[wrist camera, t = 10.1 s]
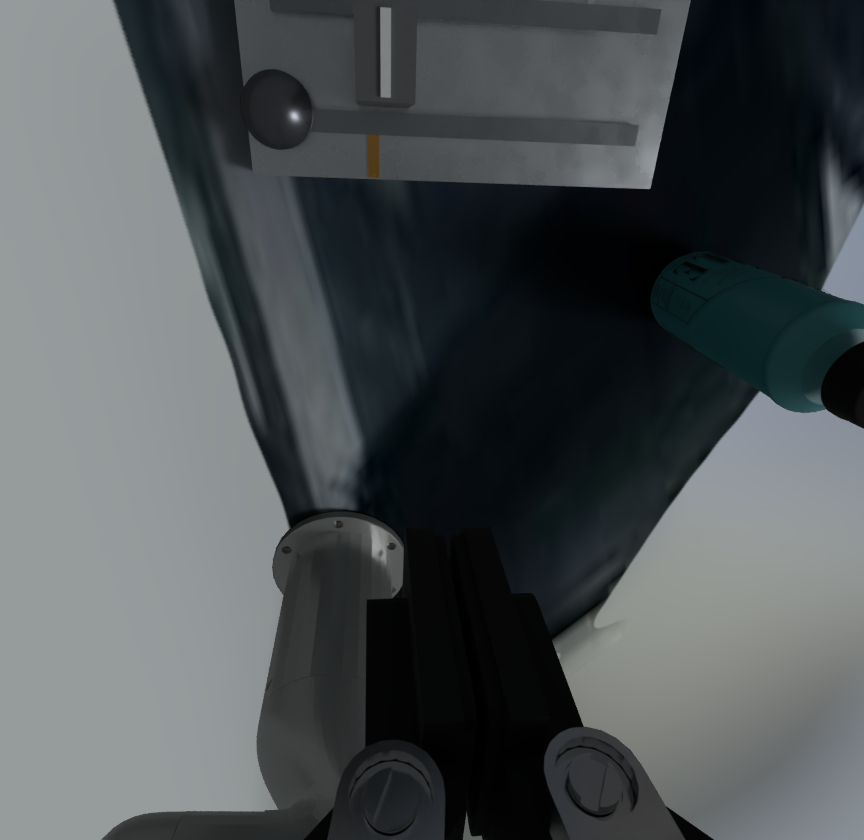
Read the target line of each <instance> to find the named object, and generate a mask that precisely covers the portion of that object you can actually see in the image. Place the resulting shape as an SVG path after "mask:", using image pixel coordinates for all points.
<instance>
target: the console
mask: <svg viewBox="0 0 864 840" xmlns="http://www.w3.org/2000/svg"><path fill="white" fill-rule="evenodd" d="M353 1H364V2H378V3H392V4H407V5H417V51H416V98H415V104H414V105H413V106H411V107H410V108H395V107H375V106H359V105H358V104H357V102H356V95H355V53H354V11H353ZM690 1H691V0H234V3H235V12H236V21H237V30H238V40H239V49H240V58H241V68H242V77H243V86H244V88H243V91H242V94H241V100H240V109H241V115H242V118H243V121H244V123H245V125H246V127H247V129H248V133H249V142H250V151H251V160H252V170H253V175H275V176H303V177H331V178H359V179H386V180H414V181H442V182H469V183H497V184H525V185H552V186H580V187H608V188H636V189H650V187H651V183H652V178H653V173H654V169H655V164H656V159H657V155H658V150H659V145H660V141H661V136H662V131H663V127H664V122H665V117H666V113H667V108H668V103H669V99H670V94H671V89H672V85H673V80H674V75H675V71H676V66H677V61H678V57H679V52H680V47H681V43H682V38H683V33H684V29H685V24H686V19H687V15H688V10H689V5H690Z"/></svg>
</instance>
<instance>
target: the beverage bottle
mask: <svg viewBox="0 0 864 840" xmlns="http://www.w3.org/2000/svg"><path fill="white" fill-rule="evenodd" d="M700 251H702V250H700ZM711 252H713V251H711ZM716 254H719V253H715V254H713V253H710V250H709V251H708V252H707V251H705V252H696V251H695V252H694V253H692V252H691V253H689V254H686V255H683V256H681V257H679V258H677V259H675V260H674V261H672V262H671V263H670V264H669V265H667V266H666V267H665V268H664V269H663V271H662V272H661V273H660V275H659V276H658V278H657V280H656V281H655V284H654V286H653V289H652V293H651V308H652V312H653V315H654V317H655V319H656V320H657V322H658V323H659V324H660V325H661V326H662V327H663V328H664V329H666V330H667V331H669V333H672V335H675V336H674V338H675V337H678V339H681V341H684V343H687V345H690V347H693V349H696V350H697V351H699V352H700V353H702V354H703V355H706V356H707V357H708V358H710V359H711V360H713V361H714V362H717V364H718V363H719V364H721V365H722V366H724V367H725V368H727V369H728V370H730V371H731V372H733V373H734V374H735V375H737V376H738V377H740V378H741V379H743V380H744V381H746V382H747V383H749V384H750V385H752V386H753V387H755V388H756V389H758V390H759V391H761V392H762V393H764V394H766V395H767V396H768V397H770V398H771V399H772V400H773V401H774V402H775V403H776V404H778V405H780V406H781V407H783V408H785V409H787V410H790V411H794V412H802V413H809V412H816V411H821V410H825V409H827V410H828V411H829V412H831V413H832V414H834V415H836V416H838V417H839V418H841V419H844V420H847V421H850V422H851V423H853V424H855V425H857V426H859V427H862V428H864V305H863V304H861V303H858V302H854V301H849V300H844V299H841V298H838V297H836V296H833V295H831V294H827V293H825V292H823V291H821V290H819V291H818V289H817V290H816V288H815V289H813V288H812V287H809V286H810V285H809V284H808V285H809V286H808V285H805V284H804V285H803V283H801V284H800V283H797V282H794V281H791V280H789V279H787V278H785V277H780V276H777V275H774V274H771V273H768V272H765V271H763V270H760V269H759V268H758V267H755V268H754V267H751V266H748V265H746V264H744V263H742V262H740V261H742V260H740V261H737V260H739V259H737V260H735V259H736V258H733V257H730V256H726V255H723V256H726V257H730V259H728V258H725V257H722V256H719V255H722V254H719V255H716ZM731 258H732V259H733V260H732V259H731ZM734 260H735V261H734ZM744 262H745V261H744ZM750 264H751V263H750ZM793 280H795V279H794V278H793ZM795 281H796V280H795ZM798 281H799V280H798ZM658 326H659V325H658ZM665 332H666V331H665ZM672 337H673V336H672ZM675 339H676V338H675ZM678 341H679V340H678ZM687 347H688V346H687ZM690 347H689V348H690ZM693 349H692V350H693ZM704 358H705V357H704ZM721 365H720V366H721ZM718 366H719V365H718ZM724 367H723V368H724Z"/></svg>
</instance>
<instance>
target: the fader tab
mask: <svg viewBox="0 0 864 840" xmlns="http://www.w3.org/2000/svg"><path fill="white" fill-rule="evenodd" d="M353 11H354V53H355V95H356V102H357V104H358V105H359V106H375V107H395V108H410V107H411V106H413V105H414V104H415V98H416V51H417V5H407V4H392V3H378V2H364V1H353Z"/></svg>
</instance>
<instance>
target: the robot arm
mask: <svg viewBox="0 0 864 840" xmlns="http://www.w3.org/2000/svg"><path fill="white" fill-rule="evenodd" d="M272 568H273V576H274V579H275V582H276V584H277V587H278V588H279V589H280V591H281V592H282V594H283V595H284V597H283V601H282V607H281V612H280V617H279V622H278V628H277V632H276V638H275V642H274V648H273V653H272V658H271V663H270V668H269V673H268V678H267V684H266V689H265V694H264V699H263V704H262V710H261V715H260V720H259V725H258V732H257V755H258V761H259V767H260V770H261V773H262V776H263V779H264V781H265V784H266V786H267V788H268V790H269V792H270V794H271V796H272V798H273V800H274V802H275V804H276V806H277V808H278V809H279V810H265V812H230V811H228V812H226V811H219V812H217V811H215V812H213V811H207V812H206V811H204V812H203V811H186V812H158V813H148V814H143V815H139V816H135V817H132V818H130V819H128V820H126V821H123V822H122V823H120V824H119V825H117V826H116V827H114V828H113V829H112V830H111V831H110V832H109V833H108V834H107V835H106V836H105V837H104V838H103V839H102V840H463V833H464V826H465V819H466V811H467V816H468V823H469V829H470V833H471V836H482V839H483V840H713V839H712V838H711V837H709V836H708V835H706V834H705V833H703V832H702V831H701V830H699V829H698V828H696V827H695V826H693V825H692V824H691V823H689V822H688V821H686V820H685V819H683V818H682V817H681V816H679V815H678V814H676V813H675V812H673V811H672V810H671V809H669V808H668V807H666V806H665V804H664V802H663V801H662V799H661V797H660V796H659V794H658V792H657V790H656V789H655V787H654V785H653V784H652V782H651V780H650V779H649V777H648V775H647V773H646V772H645V770H644V768H643V767H642V765H641V764H640V762H639V761H638V760H637V758H636V757H635V756H634V754H633V753H632V752H631V750H630V749H629V748H627V747H626V746H625V745H624V744H622V743H621V742H620V741H619V740H618V739H617V738H615V737H613V736H611V735H609V734H607V733H605V732H603V731H602V730H597V729H593V728H588V727H584V726H583V724H582V721H581V718H580V716H579V713H578V710H577V707H576V705H575V702H574V699H573V697H572V694H571V691H570V688H569V686H568V683H567V680H566V678H565V675H564V672H563V670H562V667H561V664H560V661H559V659H558V656H557V653H556V651H555V648H554V645H553V643H552V640H551V637H550V634H549V632H548V629H547V626H546V624H545V621H544V618H543V616H542V613H541V610H540V607H539V605H538V602H537V600H536V598H535V596H534V595H533V594H532V593H523V594H511V591H510V587H509V584H508V581H507V578H506V575H505V572H504V569H503V565H502V562H501V559H500V556H499V553H498V550H497V547H496V543H495V540H494V537H493V534H492V531H491V529H490V527H489V526H481V527H462V528H461V530H460V534H457V535H451V538H450V548H449V560H448V555H447V549H446V544H445V539H444V535H434V532H433V528H405V531H404V545H403V543H402V541H401V539H400V538H399V537H398V536H397V534H396V533H395V532H394V531H393V530H392V529H391V528H390V527H388V526H387V525H386V524H384V523H383V522H381V521H379V520H377V519H375V518H373V517H370V516H367V515H364V514H360V513H354V512H336V511H335V512H328V513H322V514H318V515H315V516H312V517H309V518H307V519H305V520H303V521H301V522H299V523H297V524H296V525H295V526H293V527H292V528H291V529H289V530H288V531H287V532H286V534H285V535H284V536H283V537H282V538H281V540H280V542H279V544H278V546H277V548H276V551H275V555H274V558H273V566H272ZM402 585H403V587H402ZM401 587H402V598H393V597H394V596H395V595H396V594H397V592H398V591H399V590H400V588H401Z"/></svg>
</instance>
